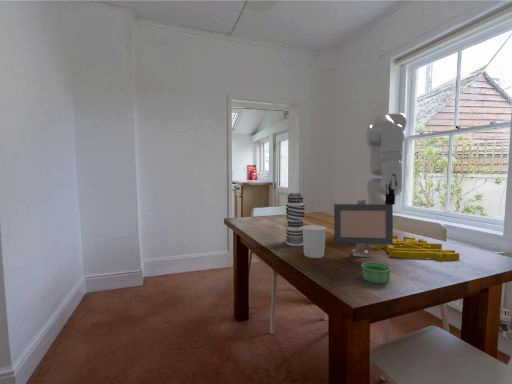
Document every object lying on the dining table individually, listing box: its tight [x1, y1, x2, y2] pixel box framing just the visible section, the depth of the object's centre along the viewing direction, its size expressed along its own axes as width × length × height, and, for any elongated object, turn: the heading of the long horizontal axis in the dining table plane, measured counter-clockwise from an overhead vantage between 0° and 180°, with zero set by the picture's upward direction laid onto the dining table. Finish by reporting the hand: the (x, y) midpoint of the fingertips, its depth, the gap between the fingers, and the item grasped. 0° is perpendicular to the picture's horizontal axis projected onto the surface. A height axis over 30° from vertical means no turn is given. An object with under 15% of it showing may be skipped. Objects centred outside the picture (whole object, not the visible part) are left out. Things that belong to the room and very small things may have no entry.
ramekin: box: [360, 261, 392, 284], centre depth 87 cm, size 9×9×4 cm
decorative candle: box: [285, 192, 306, 247], centre depth 132 cm, size 9×9×25 cm
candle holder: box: [302, 224, 327, 259], centre depth 113 cm, size 10×10×12 cm
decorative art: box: [374, 234, 461, 262], centre depth 123 cm, size 34×3×30 cm
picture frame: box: [333, 203, 394, 245], centre depth 109 cm, size 2×22×16 cm, turn 75°
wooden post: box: [351, 198, 370, 258], centre depth 112 cm, size 4×6×24 cm
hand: (389, 204), depth 105 cm, fingers closed
